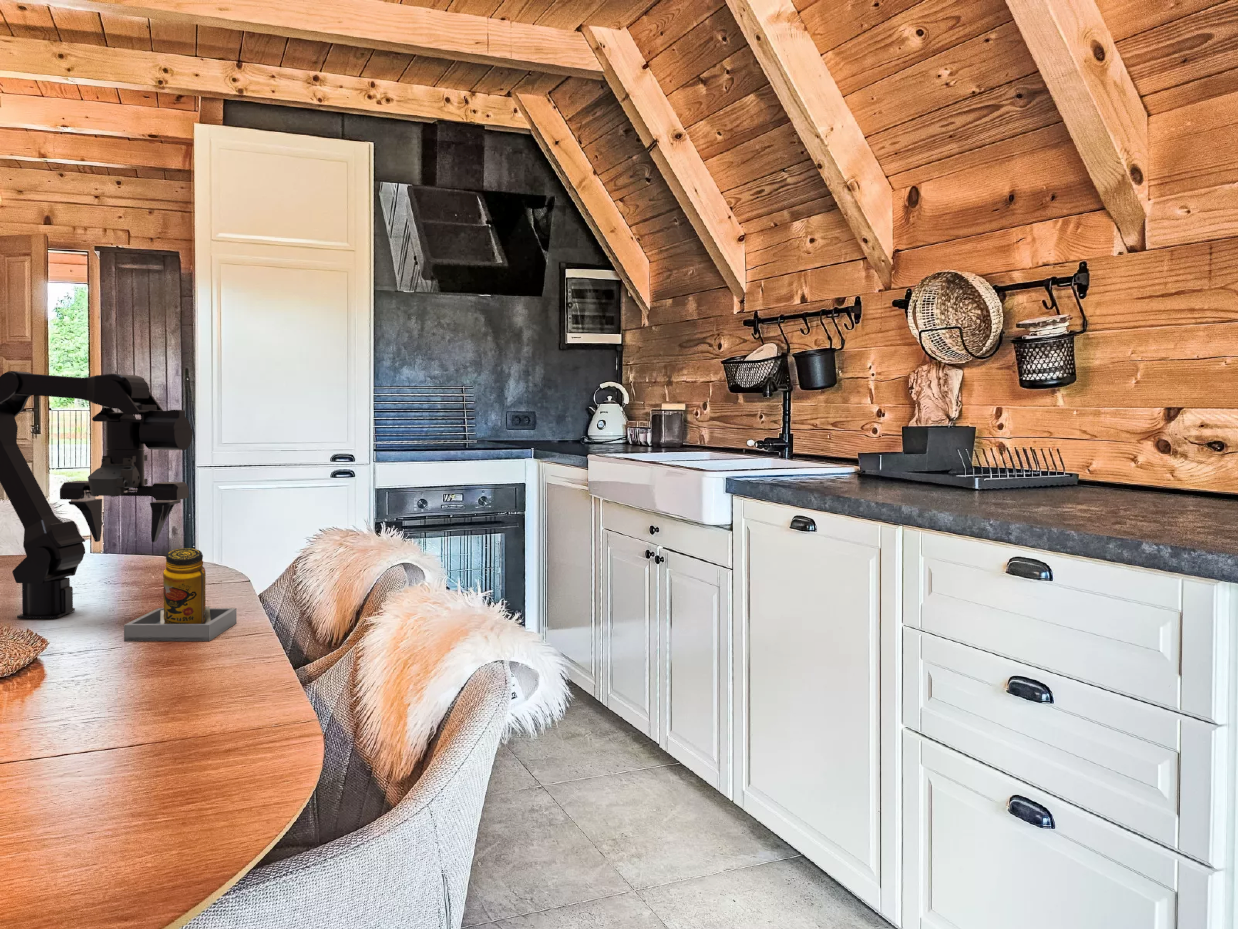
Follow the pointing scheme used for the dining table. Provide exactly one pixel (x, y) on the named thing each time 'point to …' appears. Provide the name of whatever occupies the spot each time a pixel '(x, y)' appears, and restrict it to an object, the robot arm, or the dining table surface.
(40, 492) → the robot arm
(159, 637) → the tray
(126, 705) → the dining table surface
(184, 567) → the condiment
